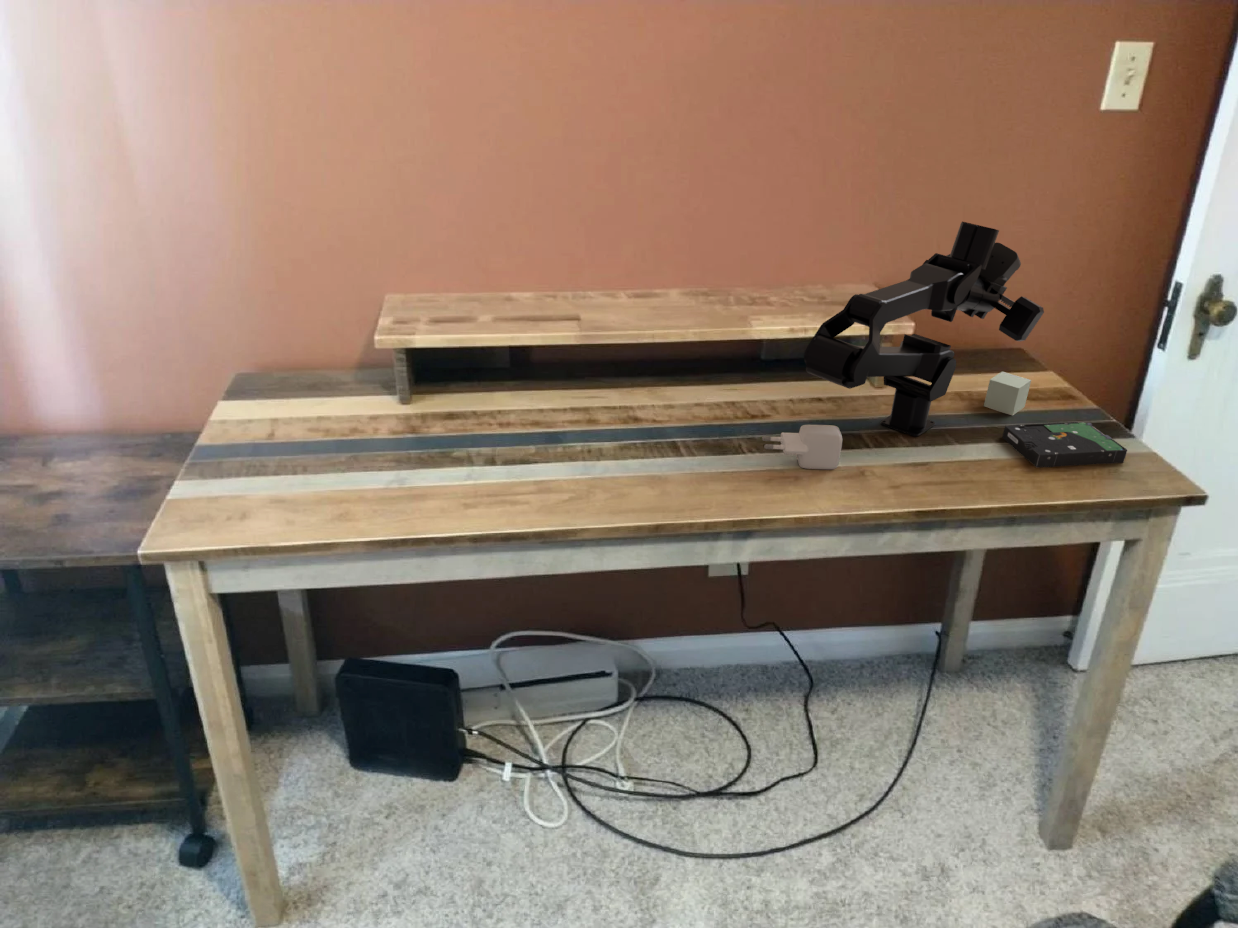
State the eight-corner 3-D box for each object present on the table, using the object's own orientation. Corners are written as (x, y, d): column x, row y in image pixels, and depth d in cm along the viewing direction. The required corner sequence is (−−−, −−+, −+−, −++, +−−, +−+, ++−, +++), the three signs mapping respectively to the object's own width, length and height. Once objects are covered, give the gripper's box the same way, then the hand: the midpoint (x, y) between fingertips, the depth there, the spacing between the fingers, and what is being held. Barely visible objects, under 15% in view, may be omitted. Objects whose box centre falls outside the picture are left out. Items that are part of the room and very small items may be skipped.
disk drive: (1036, 472, 145) (1124, 465, 148) (1040, 455, 144) (1129, 449, 146) (999, 440, 154) (1083, 434, 157) (1003, 424, 153) (1088, 419, 155)
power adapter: (762, 470, 141) (767, 434, 138) (758, 455, 145) (762, 419, 142) (839, 473, 141) (845, 437, 138) (832, 457, 145) (838, 422, 143)
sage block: (1012, 416, 161) (1019, 388, 159) (983, 406, 164) (989, 379, 162) (1024, 407, 164) (1031, 380, 162) (995, 398, 167) (1002, 371, 165)
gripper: (1045, 275, 144) (1081, 286, 156) (947, 219, 154) (987, 232, 166) (1002, 340, 149) (1040, 345, 160) (909, 281, 159) (951, 290, 171)
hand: (1004, 301), depth 164 cm, fingers open, 9 cm apart
